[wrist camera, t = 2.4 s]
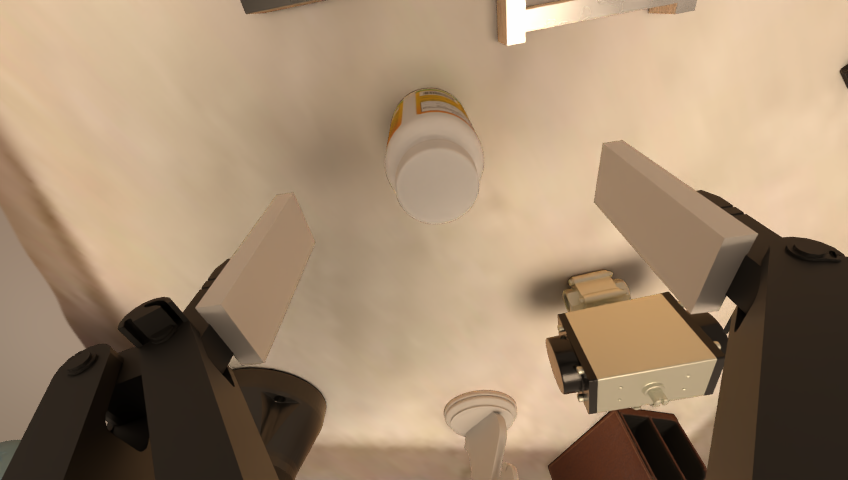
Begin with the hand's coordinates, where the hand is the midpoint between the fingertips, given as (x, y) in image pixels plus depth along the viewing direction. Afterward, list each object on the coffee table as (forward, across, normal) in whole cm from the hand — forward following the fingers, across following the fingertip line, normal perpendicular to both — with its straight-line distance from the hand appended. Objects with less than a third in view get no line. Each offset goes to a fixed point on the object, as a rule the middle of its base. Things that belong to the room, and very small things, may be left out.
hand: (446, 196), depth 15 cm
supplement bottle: (+11, 0, 0) cm, 11 cm away
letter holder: (+11, +19, -53) cm, 58 cm away
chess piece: (+11, 0, -39) cm, 41 cm away
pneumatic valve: (+11, +12, -18) cm, 25 cm away
